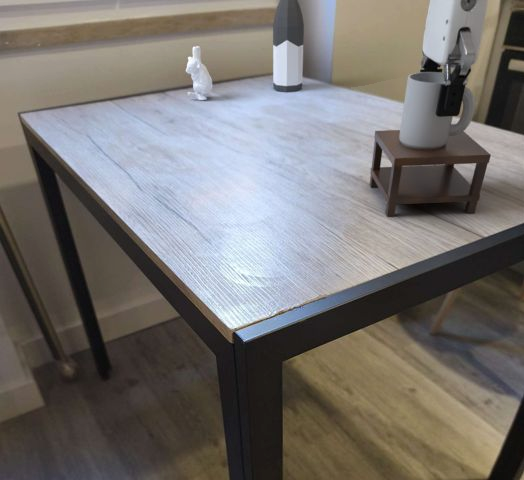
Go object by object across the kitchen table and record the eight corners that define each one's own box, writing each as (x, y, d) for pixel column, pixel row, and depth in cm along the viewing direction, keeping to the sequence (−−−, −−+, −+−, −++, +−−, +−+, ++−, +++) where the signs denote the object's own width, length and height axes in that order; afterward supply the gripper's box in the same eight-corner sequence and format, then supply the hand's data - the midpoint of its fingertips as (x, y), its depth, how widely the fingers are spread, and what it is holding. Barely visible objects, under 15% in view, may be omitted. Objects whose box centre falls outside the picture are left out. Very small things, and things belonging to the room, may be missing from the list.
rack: (448, 181, 89) (459, 127, 83) (475, 213, 79) (491, 154, 73) (368, 184, 89) (375, 130, 83) (386, 217, 79) (394, 158, 73)
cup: (400, 133, 81) (409, 71, 76) (465, 137, 79) (480, 73, 74) (396, 148, 76) (406, 82, 70) (467, 152, 74) (482, 85, 68)
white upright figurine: (188, 95, 139) (183, 44, 131) (213, 94, 139) (209, 43, 132) (188, 103, 132) (182, 50, 125) (213, 102, 133) (210, 49, 125)
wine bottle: (302, 85, 145) (306, -48, 126) (301, 92, 139) (304, -47, 120) (274, 85, 146) (274, -48, 127) (271, 92, 140) (270, -46, 121)
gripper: (523, -38, 57) (484, 123, 68) (467, -44, 71) (442, 91, 82) (457, -36, 57) (428, 125, 68) (414, -43, 70) (396, 93, 81)
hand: (436, 106), depth 75 cm, fingers open, 9 cm apart
